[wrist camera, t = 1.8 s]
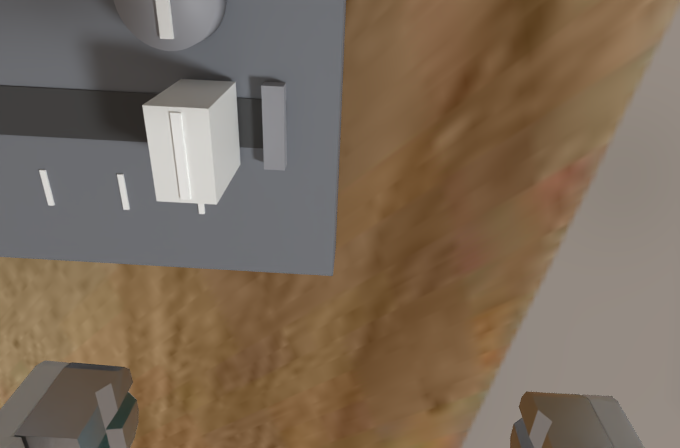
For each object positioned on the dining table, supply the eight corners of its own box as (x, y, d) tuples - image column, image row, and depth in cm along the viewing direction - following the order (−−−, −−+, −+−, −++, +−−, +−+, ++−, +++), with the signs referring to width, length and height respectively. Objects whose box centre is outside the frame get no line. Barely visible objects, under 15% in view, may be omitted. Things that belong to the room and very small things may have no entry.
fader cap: (181, 78, 23) (141, 106, 19) (235, 81, 23) (207, 109, 19) (189, 161, 25) (155, 202, 21) (240, 164, 25) (216, 205, 20)
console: (-219, -103, 23) (-366, -117, 18) (349, -77, 22) (345, -85, 18) (-84, 224, 31) (-161, 271, 26) (335, 247, 30) (330, 299, 26)
